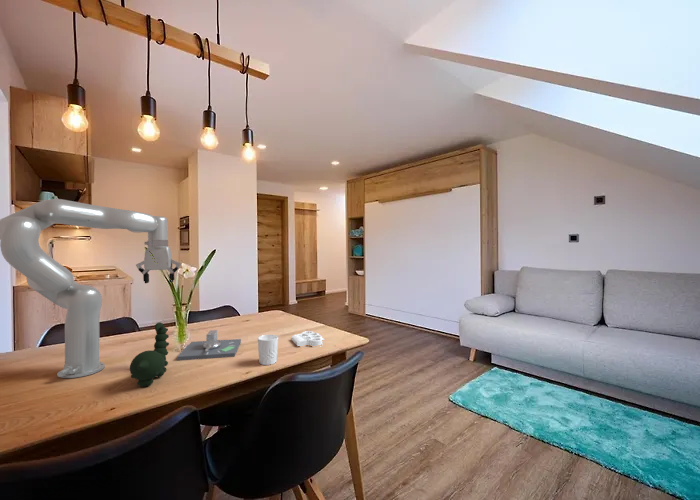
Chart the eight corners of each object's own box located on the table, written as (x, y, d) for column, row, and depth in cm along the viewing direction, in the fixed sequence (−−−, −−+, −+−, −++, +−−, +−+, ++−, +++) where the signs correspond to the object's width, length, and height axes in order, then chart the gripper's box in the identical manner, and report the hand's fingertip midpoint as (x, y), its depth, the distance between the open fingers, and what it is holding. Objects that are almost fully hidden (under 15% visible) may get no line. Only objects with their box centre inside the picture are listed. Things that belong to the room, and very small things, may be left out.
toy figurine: (147, 371, 115) (120, 396, 92) (149, 321, 117) (122, 332, 93) (175, 368, 118) (155, 391, 94) (176, 319, 120) (157, 330, 96)
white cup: (282, 361, 123) (282, 336, 123) (267, 367, 116) (268, 341, 116) (268, 357, 127) (268, 333, 127) (253, 363, 120) (253, 338, 120)
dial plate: (234, 356, 127) (234, 352, 127) (177, 360, 122) (177, 356, 122) (240, 342, 146) (240, 338, 146) (191, 344, 142) (191, 341, 142)
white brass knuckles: (289, 339, 153) (316, 336, 159) (299, 350, 136) (329, 346, 143) (289, 333, 153) (316, 329, 159) (299, 343, 136) (329, 339, 143)
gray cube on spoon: (221, 343, 138) (221, 329, 138) (215, 354, 125) (215, 338, 125) (205, 344, 137) (205, 330, 137) (197, 355, 124) (197, 339, 124)
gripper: (132, 244, 128) (133, 284, 129) (177, 244, 133) (178, 282, 133) (139, 244, 135) (140, 282, 136) (182, 244, 140) (183, 280, 141)
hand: (159, 282), depth 135 cm, fingers open, 9 cm apart
